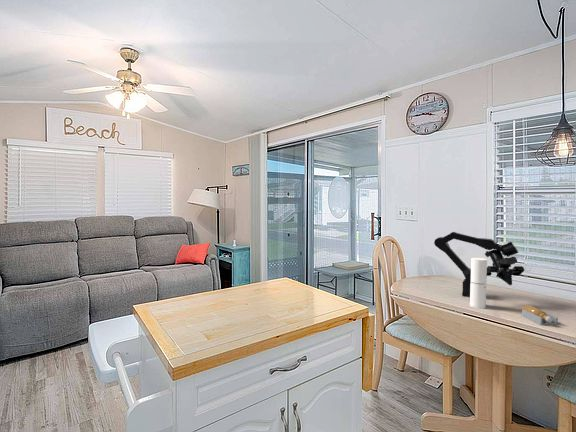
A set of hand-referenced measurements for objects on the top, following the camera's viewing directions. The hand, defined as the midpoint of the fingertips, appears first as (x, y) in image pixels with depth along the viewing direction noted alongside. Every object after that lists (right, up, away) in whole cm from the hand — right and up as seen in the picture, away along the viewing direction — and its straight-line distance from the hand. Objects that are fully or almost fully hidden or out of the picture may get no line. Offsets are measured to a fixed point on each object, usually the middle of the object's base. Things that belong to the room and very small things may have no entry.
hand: (511, 284), depth 168 cm
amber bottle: (0, -10, -11) cm, 15 cm away
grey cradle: (+1, -13, -18) cm, 22 cm away
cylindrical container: (-16, -12, +2) cm, 20 cm away
